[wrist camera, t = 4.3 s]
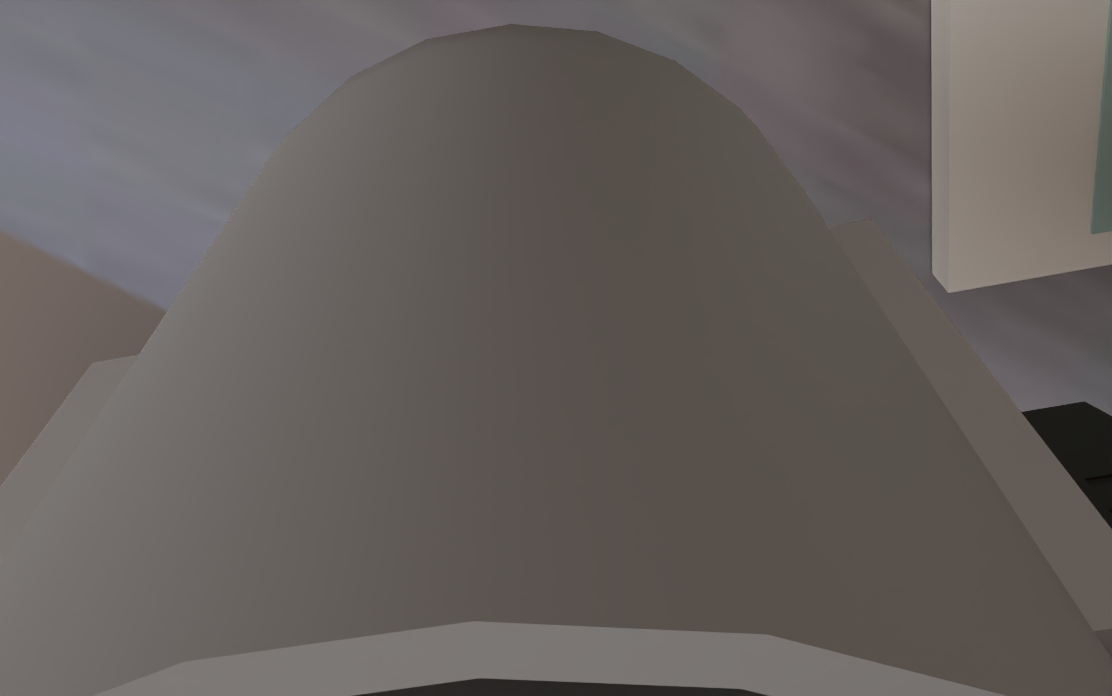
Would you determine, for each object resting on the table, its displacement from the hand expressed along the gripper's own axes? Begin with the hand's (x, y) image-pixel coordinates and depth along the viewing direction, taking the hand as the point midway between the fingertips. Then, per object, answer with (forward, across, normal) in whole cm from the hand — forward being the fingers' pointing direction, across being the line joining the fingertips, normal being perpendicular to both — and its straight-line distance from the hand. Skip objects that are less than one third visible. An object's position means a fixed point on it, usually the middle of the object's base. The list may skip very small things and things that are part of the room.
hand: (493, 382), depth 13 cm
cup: (0, 0, 0) cm, 1 cm away
